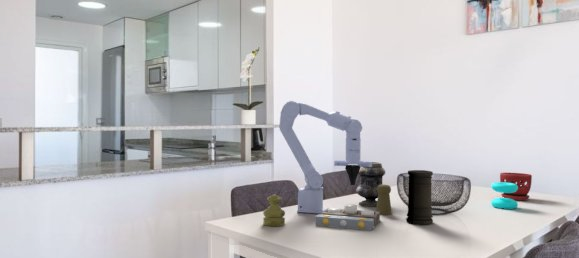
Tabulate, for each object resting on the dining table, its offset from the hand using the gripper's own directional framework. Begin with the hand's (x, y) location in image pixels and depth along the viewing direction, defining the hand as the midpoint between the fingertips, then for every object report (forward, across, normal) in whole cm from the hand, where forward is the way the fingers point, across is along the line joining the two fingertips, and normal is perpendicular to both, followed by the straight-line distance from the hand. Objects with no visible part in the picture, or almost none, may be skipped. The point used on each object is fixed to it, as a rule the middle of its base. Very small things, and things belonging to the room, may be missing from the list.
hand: (352, 184), depth 175 cm
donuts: (+11, +57, +33) cm, 67 cm away
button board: (+10, +3, -17) cm, 20 cm away
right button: (+10, +9, -17) cm, 22 cm away
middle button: (+8, +3, -17) cm, 19 cm away
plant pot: (+11, +64, +58) cm, 87 cm away
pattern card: (+10, +3, -26) cm, 28 cm away
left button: (+10, -3, -17) cm, 20 cm away
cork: (+11, +12, +1) cm, 16 cm away
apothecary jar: (+11, +4, +18) cm, 21 cm away
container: (+11, +26, -10) cm, 30 cm away
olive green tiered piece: (+10, -20, -32) cm, 39 cm away
